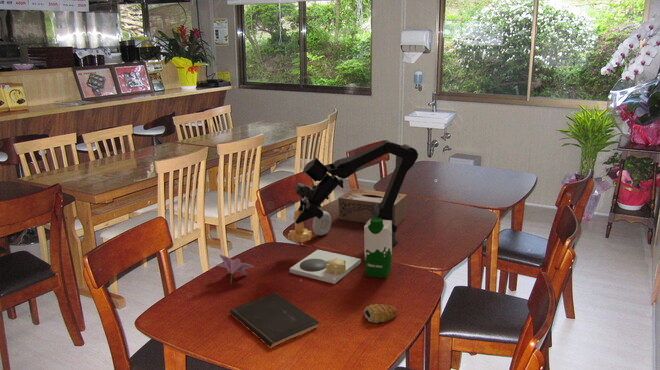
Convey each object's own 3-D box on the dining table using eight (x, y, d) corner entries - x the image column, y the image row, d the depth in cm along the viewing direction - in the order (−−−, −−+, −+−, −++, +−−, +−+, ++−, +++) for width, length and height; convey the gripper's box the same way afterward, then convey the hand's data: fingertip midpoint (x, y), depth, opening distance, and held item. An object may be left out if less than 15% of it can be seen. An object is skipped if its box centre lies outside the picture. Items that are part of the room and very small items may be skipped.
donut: (317, 239, 212) (316, 216, 209) (311, 237, 214) (310, 214, 211) (333, 231, 220) (332, 208, 217) (326, 230, 222) (326, 207, 219)
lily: (258, 284, 180) (258, 255, 182) (231, 283, 171) (231, 253, 173) (235, 285, 187) (235, 258, 190) (207, 285, 179) (208, 256, 181)
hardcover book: (275, 298, 169) (275, 292, 168) (319, 329, 152) (319, 322, 151) (230, 316, 160) (229, 309, 159) (271, 351, 142) (270, 343, 142)
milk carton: (362, 276, 180) (361, 221, 175) (369, 265, 189) (368, 211, 183) (388, 280, 178) (388, 223, 172) (394, 268, 186) (394, 213, 180)
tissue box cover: (339, 219, 234) (338, 197, 231) (352, 209, 246) (352, 188, 243) (394, 227, 223) (395, 204, 220) (406, 216, 235) (406, 194, 232)
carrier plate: (361, 263, 191) (361, 251, 189) (335, 284, 176) (335, 271, 175) (317, 253, 200) (317, 242, 199) (289, 272, 185) (289, 260, 184)
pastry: (391, 308, 161) (391, 297, 160) (401, 319, 155) (401, 307, 153) (362, 314, 158) (361, 303, 157) (371, 326, 152) (371, 314, 150)
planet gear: (316, 235, 198) (315, 210, 195) (303, 244, 191) (301, 217, 188) (296, 231, 203) (295, 206, 200) (283, 239, 196) (281, 214, 193)
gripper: (302, 168, 200) (275, 200, 201) (312, 182, 182) (282, 216, 183) (324, 187, 204) (297, 217, 205) (336, 202, 186) (306, 235, 187)
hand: (295, 221), depth 195 cm, fingers closed on planet gear, 3 cm apart
